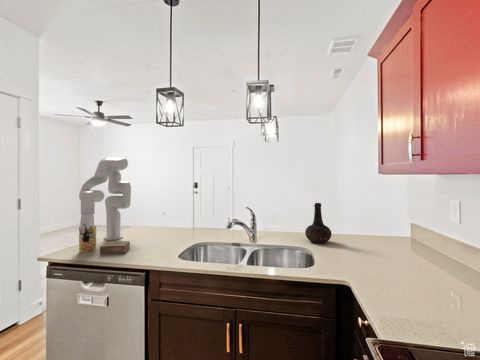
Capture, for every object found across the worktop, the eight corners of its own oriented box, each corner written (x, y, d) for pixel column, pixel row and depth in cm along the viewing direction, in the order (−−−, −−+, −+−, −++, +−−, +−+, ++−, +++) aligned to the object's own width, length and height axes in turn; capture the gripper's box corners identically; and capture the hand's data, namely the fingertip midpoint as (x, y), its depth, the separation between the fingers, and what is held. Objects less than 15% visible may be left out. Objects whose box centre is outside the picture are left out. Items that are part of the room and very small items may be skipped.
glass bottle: (335, 242, 200) (335, 203, 200) (324, 246, 187) (324, 204, 187) (312, 238, 212) (312, 201, 212) (300, 242, 199) (301, 203, 199)
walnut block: (106, 249, 176) (106, 241, 176) (129, 248, 178) (129, 241, 178) (99, 254, 164) (99, 246, 164) (125, 254, 166) (125, 245, 166)
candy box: (78, 252, 169) (78, 227, 168) (80, 250, 173) (80, 225, 172) (95, 251, 171) (95, 226, 171) (96, 249, 175) (96, 225, 175)
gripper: (86, 209, 179) (86, 238, 180) (75, 213, 162) (75, 244, 163) (98, 209, 180) (99, 237, 181) (88, 213, 164) (89, 244, 164)
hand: (87, 240), depth 172 cm, fingers closed on candy box, 4 cm apart
